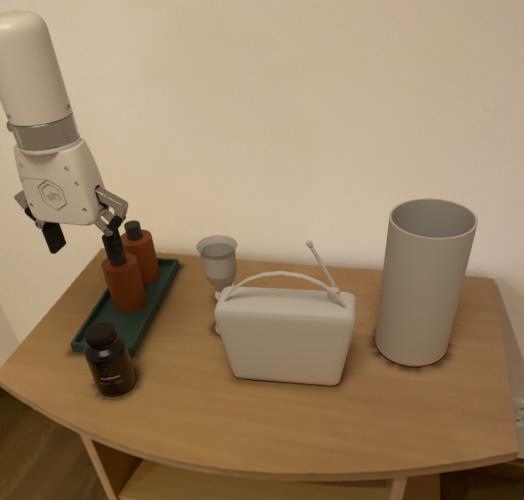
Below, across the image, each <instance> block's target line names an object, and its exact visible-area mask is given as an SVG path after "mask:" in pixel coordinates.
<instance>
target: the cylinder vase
mask: <svg viewBox="0 0 524 500" xmlns="http://www.w3.org/2000/svg"><path fill="white" fill-rule="evenodd" d="M387 223H388V225H387V234H386V241H385V250H384V260H383V268H382V276H381V283H380V284H381V285H380V292H379V293H380V294H379V301H378V311H377V319H376V326H375V327H376V328H375V337H374V338H375V339H374V341H375V342H374V343H375V345H376V348H377V350H378V351H379V353H381V354H382V356H384V357H385V358H386V359H388V360H390V361H391V362H393V363H395V364H399V365H401V366H407V367H424V366H429V365H431V364H434V363H436V362H438V361H439V360H441V359H442V358H443V357H444V355H445V354H446V353H447V351H448V346H449V342H450V339H451V335H452V330H453V325H454V323H455V322H454V321H455V318H456V314H457V309H458V305H459V301H460V298H461V293H462V290H463V289H462V288H463V286H464V281H465V277H466V273H467V269H468V266H469V265H468V264H469V261H470V256H471V253H472V249H473V244H474V239H475V236H476V232H477V228H478V224H479V218H478V216H477V214H476V213H475V212H474V211H473V210H471V209H470V208H468V207H467V206H466V205H463V204H462V203H461V204H460V203H458V202H455V201H451V200H447V199H442V198H416V199H415V198H414V199H410V200H407V201H403V202H400V203H399V204H397V205H395V206H394V207H393V208H392V209H391V210H390V212H389V215H388V222H387Z"/></svg>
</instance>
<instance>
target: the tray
mask: <svg viewBox="0 0 524 500" xmlns="http://www.w3.org/2000/svg"><path fill="white" fill-rule="evenodd" d="M157 261H158V265H159V269H160V274H161V276H160V279H159V280H158V281H157V282H155V283H153V284H151V285H147V286H144V289H145V293H146V297H147V303H146V305H145V306H144V307H143V308H142V309H140V310H138V311H136V312H132V313H121V312H119V311H117V310H116V309H115V307H114V304H113V301H112V298H111V295H110V292H109V289H108V286H107V287H106V289H105V290H104V292H103V293H102V294H101V296H100V298H99V299H98V301H97V302H96V304H95V305H94V307H93V308H92V310H91V311H90V313H89V314H88V316H87V318H86V319H85V320H84V322H83V323H82V325H81V326H80V328H79V329H78V331H77V332H76V334H75V336H74V337H73V338H72V339H71V342H70V343H69V346H70V348H71V350H72V353H79V354H82V353H83V354H84V349H85V346H86V344H87V343H86V339H85V335H84V334H85V330H86V329H87V328H88V327H89V326H90V325H92V324H95V323H98V322H109V323H111V324H113V326H114V327H115V331H116V332H117V335H119V336H121V337H122V338H123V339H124V340H125V342H126V345H127V348H128V352H129V355H130V357H135V356H136V354H137V352H138V350H139V348H140V347H141V345H142V342H143V341H144V338H145V336H146V335H147V332H148V330H149V329H150V326H151V324H152V322H153V320H154V319H155V316H156V315H157V313H158V311H159V309H160V306H161V305H162V303H163V300H164V299H165V298H166V295H167V293H168V291H169V289H170V287H171V285H172V282H173V280H174V279H175V276H176V275H177V273H178V271H179V269H180V267H181V266H180V261H179V258H166V257H165V258H164V257H163V258H162V257H157Z"/></svg>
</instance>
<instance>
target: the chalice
mask: <svg viewBox="0 0 524 500" xmlns="http://www.w3.org/2000/svg"><path fill="white" fill-rule="evenodd" d="M195 247H196V250H197V251H198V253H199V254H200V259H201V266H202V273H203V274H204V276H205V278H206V280H207V281H208V283H209V284H210V285H211V287H212V288H213V289H214V290H215V292H216V291H217V292H219V293H221V292H222V290H223V289H224V288H226V287H229V286H232V284H233V285H234V281H235V279H236V276H237V272H238V264H237V255H236V250H237V248H238V242H237V240H236V239H234V238H233V237H231V236H228V235H223V234H222V235H221V234H215V235H210V236H206V237H203V238H201V239H200V240H199V241H197V244H196V245H195ZM215 323H216V322H215ZM214 330H215V332H216V333H217V334H218V335H220V332H219V329H218V326H217V323H216V324H215V326H214Z"/></svg>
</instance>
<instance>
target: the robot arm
mask: <svg viewBox="0 0 524 500" xmlns="http://www.w3.org/2000/svg"><path fill="white" fill-rule="evenodd" d="M53 43H54V42H53V40H52V37H51V34H50V31H49V28H48V25H47V23H46V21H45V20H44V18H43V17H42V16H41V15H40V14H38V12H35V11H30V10H12V11H9V10H8V11H1V12H0V103H1V106H2V108H3V111H4V114H5V116H6V119H7V121H6V129H7V131H8V132H10V133H12V134H13V137H14V139H15V142H16V144H14V146H13V152H14V160H15V166H16V170H17V174H18V178H19V181H20V185H21V188H22V189H21V190H20V191H19V192H17V193H16V194H15V195H14V197H13V198H14V200H15V202H17V204H18V205H19V206H20V208H21V209H22V210H23V211H24V214H25V215H26V216H27V217H28V218H30V219H31V220H32V221H33V222H34V225H35V227H36V228H37V229H39V230H41V233H42V236H43V238H44V241H45V242H46V245H47V249H48V250H49V253H50V254H51V255H52V254H53V255H56V254H57V253H58V252H59V251H61V250H62V249H63V248H64V247H65V246H66V245H67V241H66V238H65V235H64V233H63V229H62V226H61V224H62V225H71V226H72V225H73V226H82V227H83V226H84V227H85V226H87V227H88V226H92V225H95V227H96V228H98V229H99V230H100V231H101V232H102V233H103V235H102V236H101V241H102V244H103V247H104V250H105V253H106V258H107V257H108V259H109V260H110V261H114V260H115V259H116V258H117V257H118V256H119V255H120V254H121V253H122V252H123V244H122V240H121V237H120V236H121V234H120V231H119V228H120V227H121V226H122V224H123V223H124V222H125V220H126V219H127V214H128V210H129V202H128V201H127V200H125V199H123V198H122V197H120V196H118V195H117V194H114V193H113V192H112V191H109V190H107V189H106V187H105V184H104V181H103V178H102V175H101V172H100V169H99V167H98V165H97V163H96V160H95V158H94V156H93V153H92V151H91V149H90V146H89V145H88V143H87V141H86V140H85V138H81V135H80V131H79V127H78V124H77V120H76V118H75V114H74V111H73V107H72V104H71V101H70V98H69V94H68V90H67V87H66V83H65V81H64V77H63V73H62V71H61V67H60V64H59V60H58V57H57V53H56V50H55V47H54V44H53ZM110 208H111V209H112V210H113V212H112V211H111V210H110ZM102 217H103V218H104V219H103V218H102ZM105 220H106V221H107V222H106V221H105Z"/></svg>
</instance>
